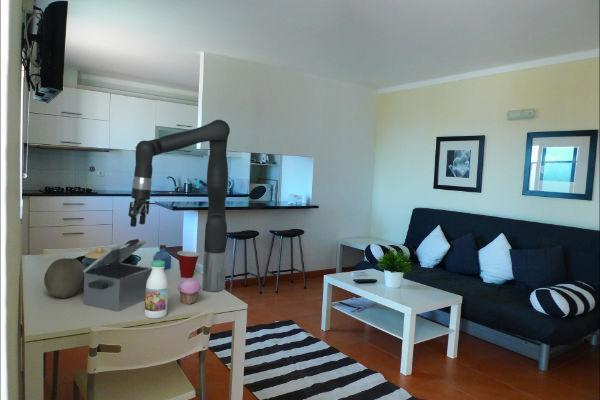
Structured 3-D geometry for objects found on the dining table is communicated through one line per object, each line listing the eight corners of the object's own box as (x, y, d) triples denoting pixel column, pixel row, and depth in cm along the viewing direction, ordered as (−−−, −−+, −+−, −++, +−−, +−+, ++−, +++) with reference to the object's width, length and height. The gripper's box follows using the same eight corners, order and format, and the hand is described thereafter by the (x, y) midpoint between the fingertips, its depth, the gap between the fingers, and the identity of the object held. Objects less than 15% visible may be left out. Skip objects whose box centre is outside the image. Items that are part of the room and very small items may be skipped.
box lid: (150, 238, 167) (147, 232, 168) (117, 246, 149) (113, 239, 149) (120, 262, 172) (116, 256, 173) (84, 273, 154) (80, 266, 155)
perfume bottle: (170, 268, 214) (171, 245, 213) (160, 270, 209) (162, 247, 208) (162, 266, 217) (163, 244, 216) (152, 268, 212) (154, 245, 211)
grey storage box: (151, 297, 169) (152, 268, 168) (112, 314, 148) (113, 281, 147) (119, 290, 173) (120, 262, 172) (76, 306, 152) (77, 274, 151)
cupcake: (189, 297, 171) (190, 274, 171) (204, 302, 167) (206, 278, 166) (172, 303, 164) (173, 278, 163) (188, 308, 159) (189, 283, 159)
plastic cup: (202, 278, 201) (203, 254, 200) (180, 280, 194) (182, 255, 193) (193, 272, 210) (194, 249, 209) (172, 274, 203) (173, 250, 202)
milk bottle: (147, 311, 154) (150, 258, 152) (169, 311, 154) (171, 259, 153) (141, 318, 146) (144, 263, 144) (163, 319, 147) (166, 264, 145)
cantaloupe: (80, 301, 157) (82, 263, 156) (38, 302, 153) (39, 263, 152) (88, 290, 171) (89, 255, 170) (50, 291, 167) (51, 254, 166)
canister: (119, 288, 176) (121, 248, 175) (87, 294, 167) (89, 251, 165) (107, 281, 185) (108, 242, 184) (76, 286, 176) (77, 245, 174)
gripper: (143, 189, 167) (138, 228, 169) (157, 188, 182) (153, 224, 183) (125, 187, 168) (121, 226, 169) (140, 186, 182) (136, 222, 183)
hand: (137, 225), depth 176 cm, fingers open, 8 cm apart
